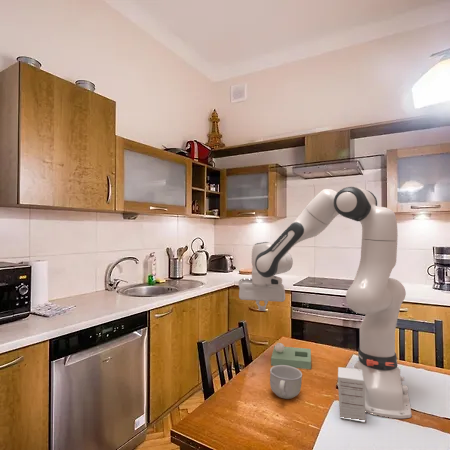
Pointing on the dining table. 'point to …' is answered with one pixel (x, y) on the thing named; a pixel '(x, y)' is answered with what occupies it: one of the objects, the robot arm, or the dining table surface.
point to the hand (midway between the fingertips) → (262, 310)
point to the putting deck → (292, 357)
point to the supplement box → (351, 393)
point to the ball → (279, 347)
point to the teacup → (285, 381)
